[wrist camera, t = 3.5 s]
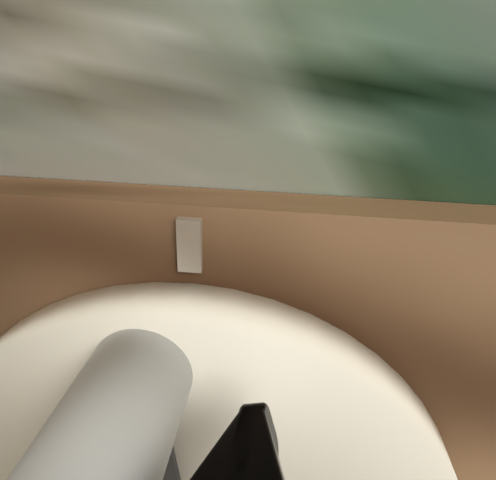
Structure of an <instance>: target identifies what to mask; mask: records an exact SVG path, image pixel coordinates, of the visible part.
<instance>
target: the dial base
mask: <svg viewBox="0 0 496 480" xmlns="http://www.w3.org/2000/svg"><path fill="white" fill-rule="evenodd" d="M147 282H170V283H195V284H202V285H209V286H216V287H223V288H230V289H235V290H239V291H243V292H247V293H251V294H254V295H258V296H262V297H266V298H270V299H273V300H276V301H279V302H281V303H284V304H286V305H289V306H292V307H294V308H297V309H299V310H302V311H304V312H307V313H310V314H312V315H314V316H316V317H318V318H319V319H321V320H323V321H325V322H327V323H329V324H331V325H333V326H335V327H337V328H338V329H340V330H342V331H344V332H346V333H347V334H349V335H350V336H352V337H353V338H355V339H356V340H357V341H359V342H360V343H362V344H363V345H365V346H366V347H367V348H369V349H370V350H372V351H373V352H375V353H376V354H377V355H378V356H379V357H381V358H382V359H383V360H384V361H385V362H386V363H387V364H388V365H389V366H390V367H391V368H393V369H394V370H395V371H396V372H397V373H398V374H399V375H400V376H401V377H402V378H403V379H404V380H405V381H406V383H407V384H408V385H409V386H410V388H411V389H412V390H413V391H414V392H415V394H416V395H417V396H418V397H419V399H420V400H421V401H422V402H423V404H424V406H425V407H426V409H427V411H428V413H429V414H430V416H431V418H432V420H433V421H434V423H435V425H436V427H437V428H438V431H439V433H440V436H441V438H442V441H443V443H444V446H445V448H446V451H447V454H448V456H449V459H450V461H451V464H452V466H453V469H454V471H455V474H456V476H457V479H458V480H496V205H480V204H463V203H447V202H430V201H413V200H396V199H380V198H363V197H346V196H329V195H313V194H296V193H279V192H262V191H246V190H229V189H212V188H195V187H179V186H162V185H145V184H128V183H112V182H95V181H78V180H61V179H45V178H28V177H11V176H0V337H1V336H2V335H3V334H4V333H6V332H7V331H8V330H9V329H10V328H12V327H13V326H14V325H15V324H17V323H18V322H19V321H20V320H22V319H24V318H26V317H27V316H29V315H31V314H33V313H35V312H36V311H38V310H40V309H42V308H43V307H45V306H47V305H50V304H52V303H55V302H58V301H60V300H63V299H65V298H68V297H71V296H73V295H76V294H79V293H83V292H88V291H92V290H97V289H101V288H105V287H110V286H115V285H126V284H136V283H147Z"/></svg>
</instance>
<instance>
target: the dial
mask: <svg viewBox="0 0 496 480" xmlns="http://www.w3.org/2000/svg"><path fill="white" fill-rule="evenodd" d="M260 402H264V403H266V404H267V405H268V407H269V409H270V413H271V416H272V420H273V424H274V427H275V431H276V434H277V439H278V449H279V460H280V464H281V468H282V471H283V475H284V479H285V480H458V479H457V476H456V474H455V471H454V469H453V466H452V464H451V461H450V459H449V456H448V454H447V451H446V448H445V446H444V443H443V441H442V438H441V436H440V433H439V431H438V428H437V427H436V425H435V423H434V421H433V420H432V418H431V416H430V414H429V413H428V411H427V409H426V407H425V406H424V404H423V402H422V401H421V400H420V399H419V397H418V396H417V395H416V394H415V392H414V391H413V390H412V389H411V388H410V386H409V385H408V384H407V383H406V381H405V380H404V379H403V378H402V377H401V376H400V375H399V374H398V373H397V372H396V371H395V370H394V369H393V368H391V367H390V366H389V365H388V364H387V363H386V362H385V361H384V360H383V359H382V358H381V357H379V356H378V355H377V354H376V353H375V352H373V351H372V350H370V349H369V348H367V347H366V346H365V345H363V344H362V343H360V342H359V341H357V340H356V339H355V338H353V337H352V336H350V335H349V334H347V333H346V332H344V331H342V330H340V329H338V328H337V327H335V326H333V325H331V324H329V323H327V322H325V321H323V320H321V319H319V318H318V317H316V316H314V315H312V314H310V313H307V312H304V311H302V310H299V309H297V308H294V307H292V306H289V305H286V304H284V303H281V302H279V301H276V300H273V299H270V298H266V297H262V296H258V295H254V294H251V293H247V292H243V291H239V290H235V289H230V288H223V287H216V286H209V285H202V284H195V283H170V282H147V283H136V284H126V285H115V286H110V287H105V288H101V289H97V290H92V291H88V292H83V293H79V294H76V295H73V296H71V297H68V298H65V299H63V300H60V301H58V302H55V303H52V304H50V305H47V306H45V307H43V308H42V309H40V310H38V311H36V312H35V313H33V314H31V315H29V316H27V317H26V318H24V319H22V320H20V321H19V322H18V323H17V324H15V325H14V326H13V327H12V328H10V329H9V330H8V331H7V332H6V333H4V334H3V335H2V336H1V337H0V480H190V478H191V477H192V476H193V474H194V473H195V471H196V470H197V469H198V467H199V466H200V464H201V463H202V462H203V460H204V459H205V458H206V456H207V455H208V453H209V452H210V451H211V449H212V448H213V447H214V445H215V444H216V442H217V441H218V440H219V438H220V437H221V436H222V434H223V433H224V431H225V430H226V429H227V427H228V426H229V425H230V423H231V422H232V420H233V419H234V418H235V416H236V415H237V414H238V412H239V409H240V407H241V406H242V405H243V404H249V403H260Z"/></svg>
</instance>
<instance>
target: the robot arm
mask: <svg viewBox="0 0 496 480" xmlns="http://www.w3.org/2000/svg"><path fill="white" fill-rule="evenodd" d="M190 480H285V479H284V475H283V471H282V468H281V464H280V460H279V449H278V439H277V434H276V431H275V427H274V424H273V420H272V416H271V413H270V409H269V407H268V405H267V404H266V403H264V402H260V403H249V404H243V405H242V406H241V407H240V409H239V412H238V414H237V415H236V416H235V418H234V419H233V420H232V422H231V423H230V425H229V426H228V427H227V429H226V430H225V431H224V433H223V434H222V436H221V437H220V438H219V440H218V441H217V442H216V444H215V445H214V447H213V448H212V449H211V451H210V452H209V453H208V455H207V456H206V458H205V459H204V460H203V462H202V463H201V464H200V466H199V467H198V469H197V470H196V471H195V473H194V474H193V476H192V477H191V478H190Z"/></svg>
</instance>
